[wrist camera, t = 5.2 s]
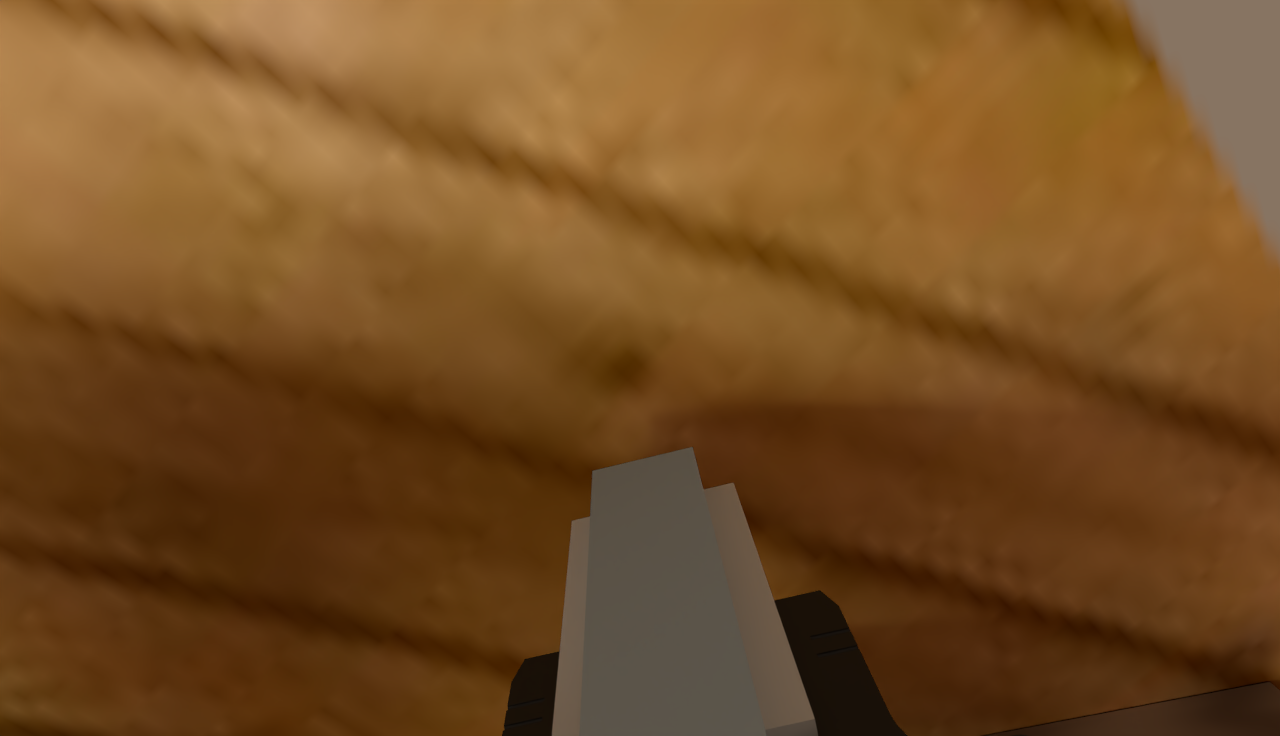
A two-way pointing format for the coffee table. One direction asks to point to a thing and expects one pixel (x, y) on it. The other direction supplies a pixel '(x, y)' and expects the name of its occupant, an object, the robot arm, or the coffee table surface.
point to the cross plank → (660, 610)
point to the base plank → (1181, 717)
